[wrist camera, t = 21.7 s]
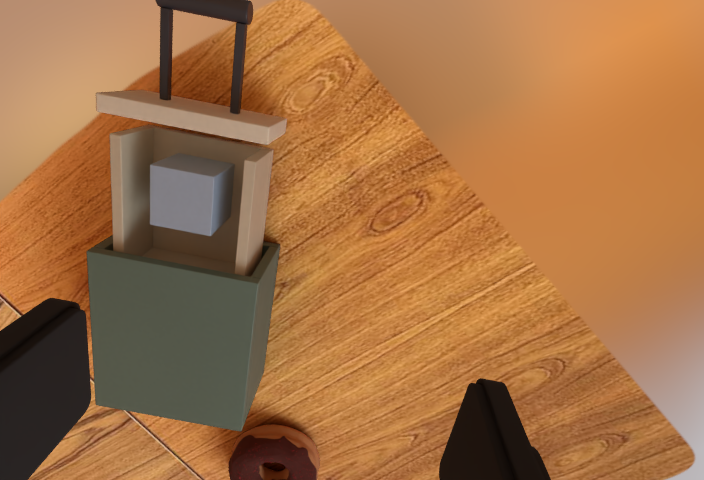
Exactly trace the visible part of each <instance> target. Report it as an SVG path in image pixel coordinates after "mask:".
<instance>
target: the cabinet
mask: <svg viewBox="0 0 704 480" xmlns="http://www.w3.org/2000/svg"><path fill="white" fill-rule="evenodd" d="M279 250H280V244H275V243H270V242H265V241H263V248H262V257H261V261H260V263H259V264H258V266H257V268H256V269H255V271H254V272H253V274H252V276H251V277H248V276H242V275H237V274H232V273H227V272H221V271H216V270H211V269H206V268H200V267H195V266H190V265H185V264H179V263H174V262H169V261H164V260H158V259H153V258H148V257H143V256H137V255H132V254H127V253H122V252H116V251H113V235H112V236H110V237H109V238H107V239H105V240H104V241H102V242H100V243H99V244H97V245H95V246H94V247H92V248H91V249H89V250H88V251H87V266H88V283H89V300H90V317H91V334H92V350H93V367H94V384H95V401H96V405H99V406H104V407H110V408H115V409H121V410H126V411H132V412H137V413H142V414H148V415H153V416H159V417H164V418H170V419H175V420H181V421H186V422H192V423H197V424H202V425H208V426H213V427H219V428H224V429H230V430H235V431H242V429H243V426H244V423H245V421H246V418H247V415H248V413H249V410H250V407H251V405H252V402H253V399H254V397H255V394H256V391H257V389H258V386H259V383H260V381H261V378H262V375H263V372H264V365H265V357H266V349H267V342H268V334H269V326H270V319H271V311H272V304H273V296H274V288H275V281H276V273H277V265H278V258H279Z"/></svg>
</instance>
